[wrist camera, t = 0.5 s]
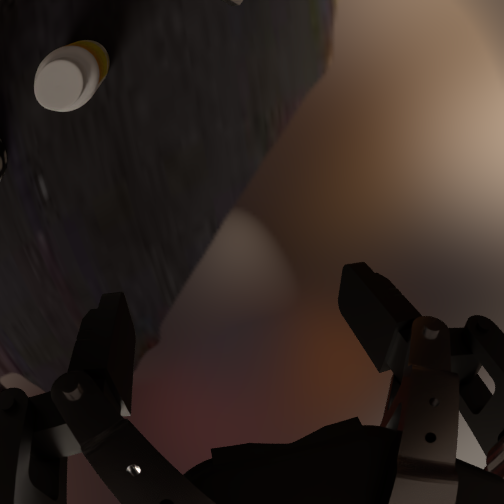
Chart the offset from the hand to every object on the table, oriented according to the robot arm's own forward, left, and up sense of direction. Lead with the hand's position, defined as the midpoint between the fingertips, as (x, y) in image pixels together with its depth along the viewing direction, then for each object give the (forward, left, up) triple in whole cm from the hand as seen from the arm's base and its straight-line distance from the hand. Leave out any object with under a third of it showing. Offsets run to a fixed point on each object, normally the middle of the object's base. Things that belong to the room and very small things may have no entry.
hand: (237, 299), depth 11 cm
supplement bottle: (-10, 0, -27) cm, 29 cm away
